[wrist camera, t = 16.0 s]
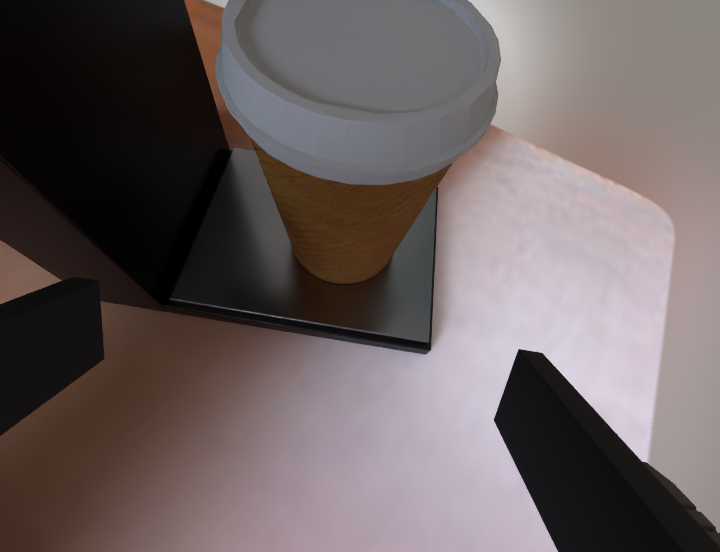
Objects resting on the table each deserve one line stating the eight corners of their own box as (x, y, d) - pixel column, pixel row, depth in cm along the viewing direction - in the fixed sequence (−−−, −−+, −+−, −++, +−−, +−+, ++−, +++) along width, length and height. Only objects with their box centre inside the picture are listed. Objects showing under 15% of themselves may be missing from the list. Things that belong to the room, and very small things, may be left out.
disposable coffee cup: (439, 294, 20) (571, 121, 10) (274, 325, 19) (211, 153, 8) (395, 171, 24) (454, -47, 14) (256, 186, 23) (197, -52, 12)
